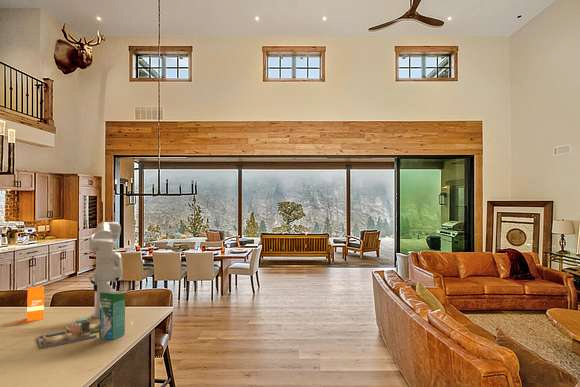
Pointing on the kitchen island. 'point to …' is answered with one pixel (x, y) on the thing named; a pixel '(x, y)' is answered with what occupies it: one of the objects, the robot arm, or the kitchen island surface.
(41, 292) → the orange juice
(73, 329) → the rounded peach cylinder
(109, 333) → the milk carton
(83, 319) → the teal cube
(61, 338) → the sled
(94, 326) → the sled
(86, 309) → the kitchen island surface
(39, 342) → the lane frame
